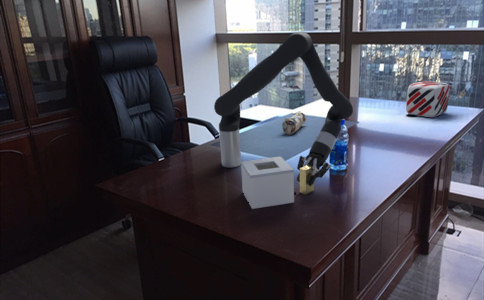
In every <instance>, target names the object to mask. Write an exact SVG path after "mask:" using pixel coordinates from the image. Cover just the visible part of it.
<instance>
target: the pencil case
mask: <svg viewBox="0 0 484 300" xmlns="http://www.w3.org/2000/svg"><path fill="white" fill-rule="evenodd" d="M306 121H307V116H306V114H305V113H303V112H301V111H300V110H299V111H297V112H295V113H293V114H292V116H291V117H286V118H285V117H284V120H283V122H282V125H281V126H282V132H284V134H286V135H290V136H291V135H293V134H295V133H296V132H297V131H298V130H300V128H301V127H302V126H304V124H305V123H306Z"/></svg>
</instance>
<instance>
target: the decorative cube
mask: <svg viewBox="0 0 484 300" xmlns="http://www.w3.org/2000/svg"><path fill="white" fill-rule="evenodd" d="M450 88H451V87H450V85H449V84H448V83H446V82H441V81H429V80H421V81H418V82H413V83H410V84H409V86H408V88H407V92H406V103H405V104H406V105H405V111H406V113H407V114H408V115H411V116H418V117H425V118H436V117H437V116H438V117H439V116H440V115H443V114H445V113H446V112H447V110H448V107H449V97H450Z"/></svg>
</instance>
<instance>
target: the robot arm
mask: <svg viewBox="0 0 484 300" xmlns="http://www.w3.org/2000/svg"><path fill="white" fill-rule="evenodd" d="M311 37H312V36H310V35H309V34H308V33H307V32H305V31H297V32H294V33H292V34H290V35H289V36H288V37H286V39H285V40H284V41H283V43H281V45H279V47H278V48H276V50H274V52H273V53H271V54H270V55H268V56H267V57H265V58H264V59H263V60H261V61H260V62H259V63H257V65H255V66H254V67H252V68H251V69H250V70H249V71H248V72H247V73H246V74H245V75H244V76H243V77H242V78H241V79H240V80H239V81H238V82H237V83H236V84H235V85H234V86H233V87H232V88H230V89H229V90H228V91H226V92H225V93H223V94H222V95H221V96H218V97H217V99H216V100H215V102H214V107H213V108H214V109H213V110H214V111H215V113H216V114H217V115H218V116H220V117H221V119H220V122H219V123H218V133H219V144H220V145H219V147H220V156H221V157H220V160H221V166H222V167H224V168H236V167H240V166H241V162H242V152H241V135H240V123H241V104H242V103H243V102H244V101H245V100H247V99H249V98H251V97H252V96H254V95H256V94H258V93H259V92H260V91H262V90H264V88H265V87H267V86H268V85H269V84H270V83H272V82H273V81H274V80H275V79H276V78H277V76H278V75H279V74H280V73H281V71H282V70H283V69H284V68H286V67H287V66H288V65H290V64H292V62H294V61H295V60H297V59H298V58H300V59H301V60H302V62H303V64H304V65H305V66H306V68H307V71H308V72H309V76H310V78H311V80H312V83H313V84H314V86H315V89H316V90H317V92H318V93H319V95H320V97H321V98H322V100H323V101H324V102H328V103H330V104H331V106H330V108H329V109H328V110H327V113H326V117H325V121H324V124H323V126H322V128H321V130H320V132H318V135H317V136H316V137H315V139H314V141H313V143H312V145H311V148H310V149H309V153H308V154H307V155H306V156H303V155H300V156H299V159H298V163H297V166H296V168H297V170H298V171H299V173H298V175H297V177H296V181H297V182H298V183H300V168H302V167H304V166H306V165H310V166H313V173H312V175H311V176H310V178H309V180H308V182H307V184H308V185H309V186H311V185H313V183H314V184H315V182H316V179H318V178H320V179H321V178H323V177H324V176H325V174H326V173H327V172H328V171H329V170H330V168H331V165H330V164H329V163H328V162H326V161H327V159H328V158H329V157H330V154H331V153H332V150H333V148H334V146H335V144H336V142H337V139H338V137H339V135H340V133H341V130H342V126H341V123H342V121H343V120H346V119H349V118H350V117H351V116H352V115H353V112H354V108H353V105H352V103H351V101H350V100H349V98H347V97H346V96H345V95H344V94H343V92H342V91H340V90H339V88H338V87H337V85H336V83H335V82H334V80H333V79H332V77H331V76H330V74H329V73H328V72H329V71H327V69H326V67H325V66H324V64H323V62H322V61H321V59H320V56H319V55H318V52H317V50H316V47H315V45H314V42H313V39H312V38H311Z"/></svg>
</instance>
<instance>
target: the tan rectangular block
mask: <svg viewBox="0 0 484 300" xmlns="http://www.w3.org/2000/svg"><path fill="white" fill-rule="evenodd" d="M299 173H300V182H299V193H301V194H304V195H308V194H310V193H312V192H314V191H315V182H314V183H313V185H311V186H309V185H308V184H307V182H308V180H309V178H310V176H311V175H312V173H313V166H310V165H306V166H304V167H302V168H300V171H299Z"/></svg>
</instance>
